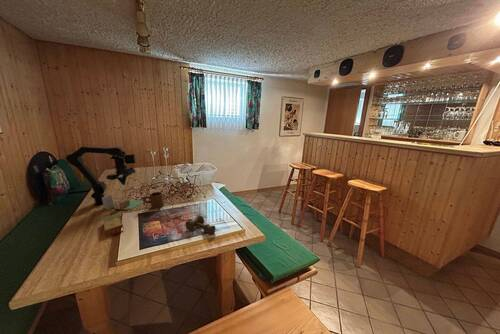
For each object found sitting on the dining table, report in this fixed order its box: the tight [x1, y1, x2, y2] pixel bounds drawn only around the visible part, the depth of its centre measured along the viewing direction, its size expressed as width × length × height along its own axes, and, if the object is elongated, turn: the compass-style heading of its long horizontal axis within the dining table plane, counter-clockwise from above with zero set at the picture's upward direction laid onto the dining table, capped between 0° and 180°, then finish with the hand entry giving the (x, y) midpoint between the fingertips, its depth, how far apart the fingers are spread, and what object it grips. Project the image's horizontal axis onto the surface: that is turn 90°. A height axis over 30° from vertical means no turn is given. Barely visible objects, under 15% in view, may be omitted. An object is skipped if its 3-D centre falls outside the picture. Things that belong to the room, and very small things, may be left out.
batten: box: [112, 206, 129, 211], centre depth 131 cm, size 12×1×1 cm, turn 74°
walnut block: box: [113, 199, 130, 210], centre depth 132 cm, size 4×4×8 cm
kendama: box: [184, 214, 216, 236], centre depth 108 cm, size 6×10×20 cm
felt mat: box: [124, 198, 145, 210], centre depth 138 cm, size 14×12×1 cm
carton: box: [102, 213, 124, 237], centre depth 110 cm, size 8×16×4 cm, turn 40°
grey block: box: [102, 195, 114, 210], centre depth 132 cm, size 4×4×8 cm
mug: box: [142, 191, 164, 209], centre depth 132 cm, size 12×8×9 cm, turn 123°
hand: (123, 184), depth 142 cm, fingers closed
